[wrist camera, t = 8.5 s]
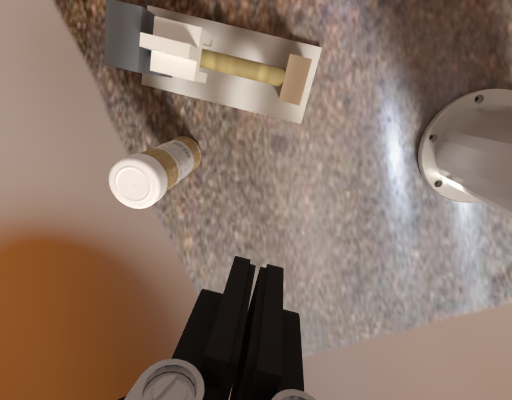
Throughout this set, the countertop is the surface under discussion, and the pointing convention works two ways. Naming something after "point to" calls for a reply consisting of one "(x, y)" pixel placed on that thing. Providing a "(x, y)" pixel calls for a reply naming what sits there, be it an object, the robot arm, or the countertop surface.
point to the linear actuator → (219, 62)
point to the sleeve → (176, 48)
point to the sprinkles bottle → (153, 171)
